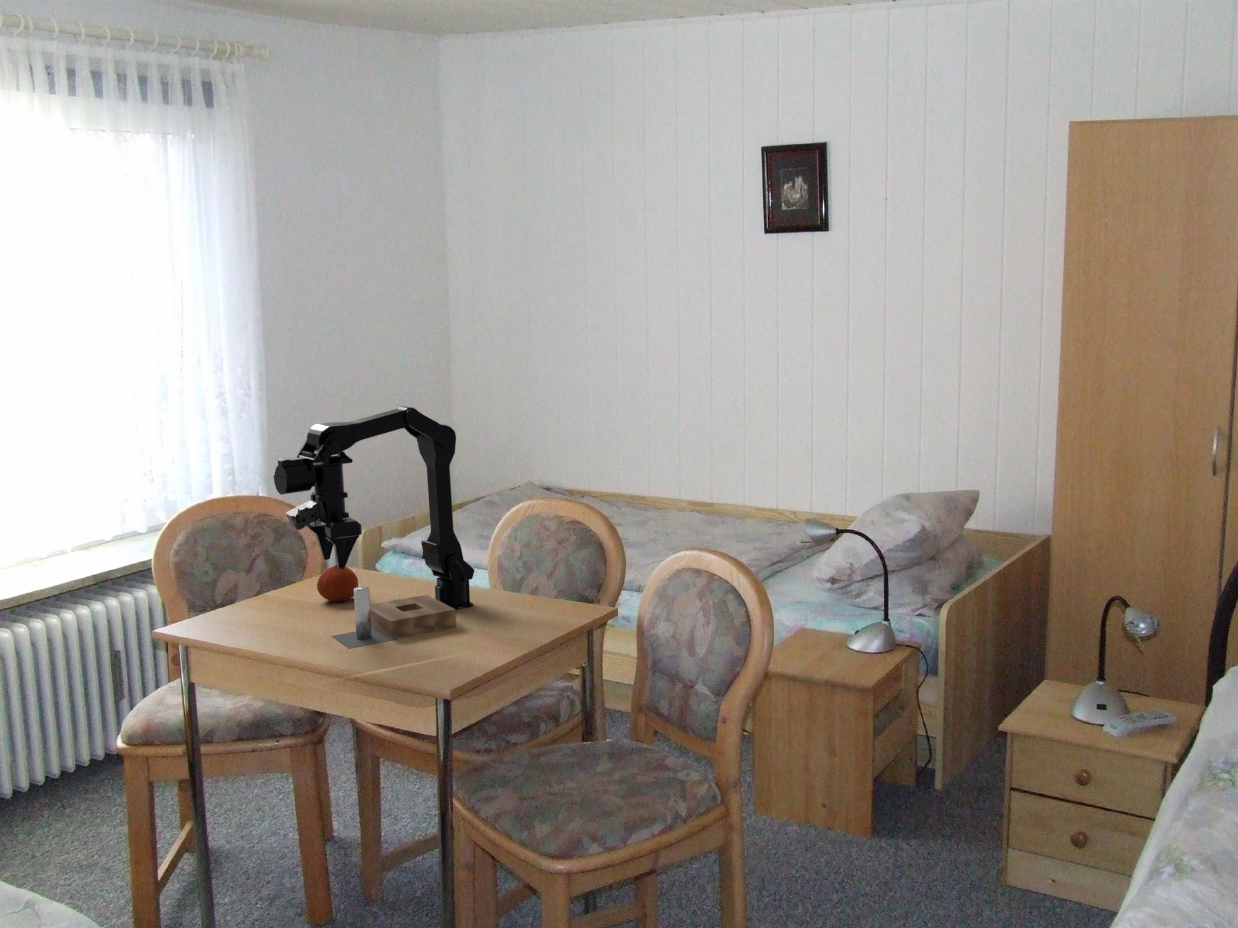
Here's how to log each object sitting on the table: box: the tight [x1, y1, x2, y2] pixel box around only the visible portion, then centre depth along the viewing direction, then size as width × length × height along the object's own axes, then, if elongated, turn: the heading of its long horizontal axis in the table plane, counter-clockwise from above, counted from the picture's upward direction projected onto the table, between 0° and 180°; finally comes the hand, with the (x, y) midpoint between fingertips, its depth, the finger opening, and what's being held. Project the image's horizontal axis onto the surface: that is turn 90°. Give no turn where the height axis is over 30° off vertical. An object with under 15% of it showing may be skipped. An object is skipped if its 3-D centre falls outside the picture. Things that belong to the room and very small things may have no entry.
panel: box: [331, 627, 399, 650], centre depth 246 cm, size 10×10×1 cm
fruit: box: [316, 564, 359, 603], centre depth 275 cm, size 9×9×8 cm
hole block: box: [370, 594, 457, 639], centre depth 254 cm, size 14×14×4 cm
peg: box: [353, 585, 372, 640], centre depth 245 cm, size 3×3×10 cm
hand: (334, 564), depth 250 cm, fingers open, 9 cm apart
